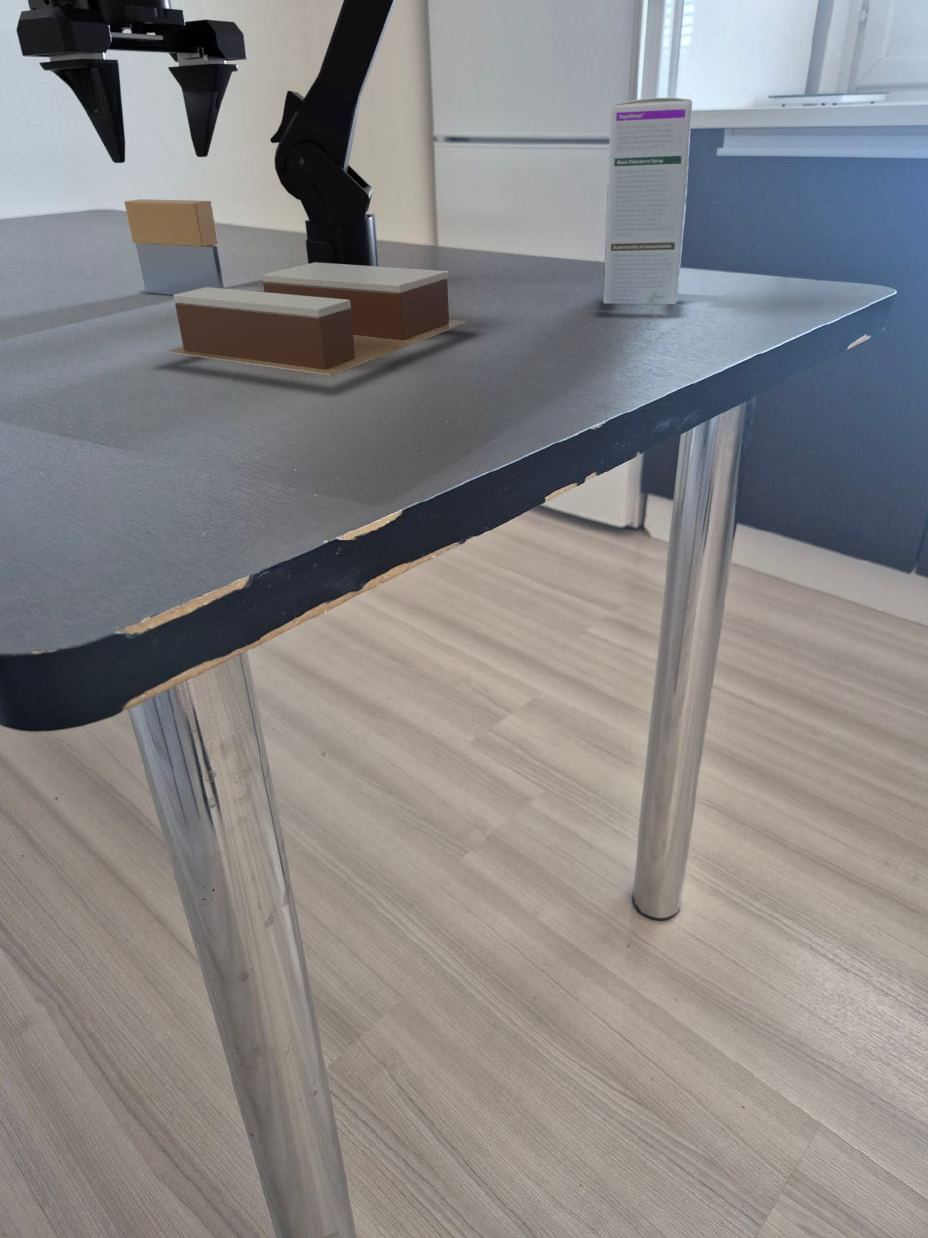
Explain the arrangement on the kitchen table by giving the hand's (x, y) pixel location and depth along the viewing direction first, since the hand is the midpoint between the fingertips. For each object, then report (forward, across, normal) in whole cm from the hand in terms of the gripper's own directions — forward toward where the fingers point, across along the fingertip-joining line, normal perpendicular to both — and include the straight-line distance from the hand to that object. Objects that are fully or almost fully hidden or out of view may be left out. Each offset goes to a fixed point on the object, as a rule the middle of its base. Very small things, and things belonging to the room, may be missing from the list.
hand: (162, 159), depth 73 cm
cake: (+10, +7, +25) cm, 28 cm away
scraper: (+11, 0, -1) cm, 11 cm away
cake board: (+11, +11, +25) cm, 30 cm away
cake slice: (+10, +17, +26) cm, 32 cm away
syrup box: (+11, -11, +40) cm, 43 cm away
